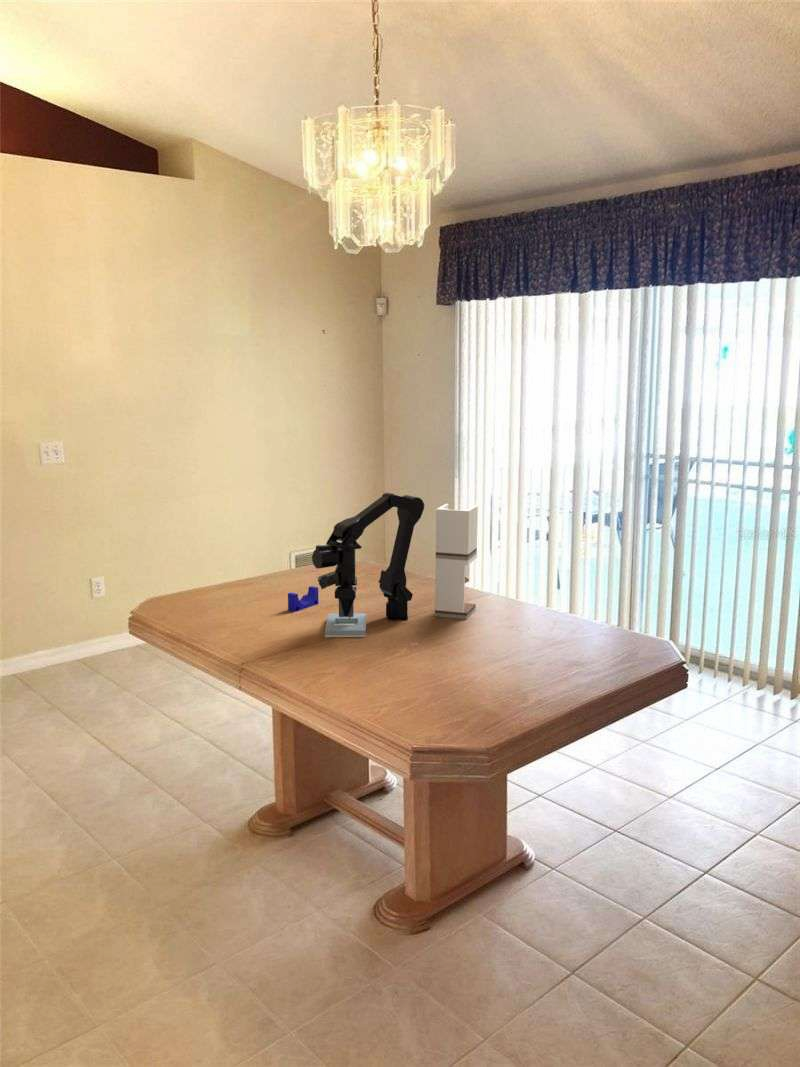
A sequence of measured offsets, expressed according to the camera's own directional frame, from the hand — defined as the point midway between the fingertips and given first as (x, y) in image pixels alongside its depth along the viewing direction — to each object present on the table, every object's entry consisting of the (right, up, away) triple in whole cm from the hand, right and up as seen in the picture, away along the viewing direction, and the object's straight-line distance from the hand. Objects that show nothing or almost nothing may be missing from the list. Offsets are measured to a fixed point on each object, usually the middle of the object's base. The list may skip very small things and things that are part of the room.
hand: (346, 613), depth 267 cm
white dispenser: (+35, -2, +17) cm, 39 cm away
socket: (0, -4, +1) cm, 5 cm away
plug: (0, -1, 0) cm, 1 cm away
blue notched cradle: (-16, 0, +24) cm, 29 cm away
